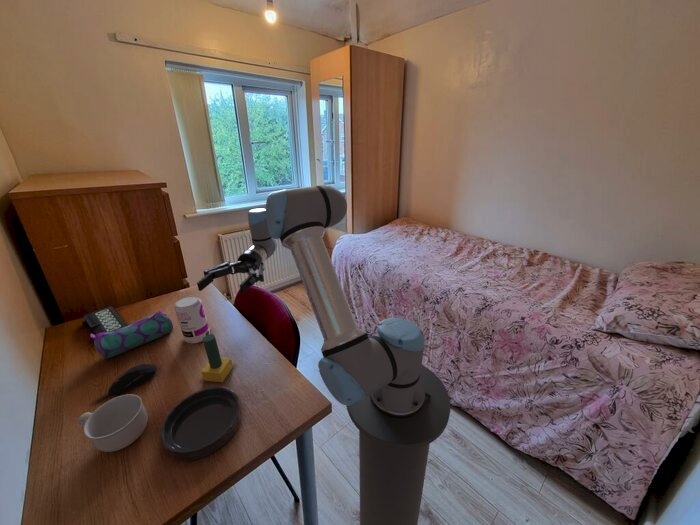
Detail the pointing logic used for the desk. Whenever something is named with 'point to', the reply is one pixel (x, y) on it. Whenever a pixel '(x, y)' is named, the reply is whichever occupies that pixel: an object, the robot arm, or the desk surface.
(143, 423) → the teacup
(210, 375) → the green peg on stand
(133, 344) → the pencil case
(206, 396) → the bowl
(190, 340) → the supplement can
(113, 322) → the digital display
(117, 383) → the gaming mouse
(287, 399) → the desk surface
